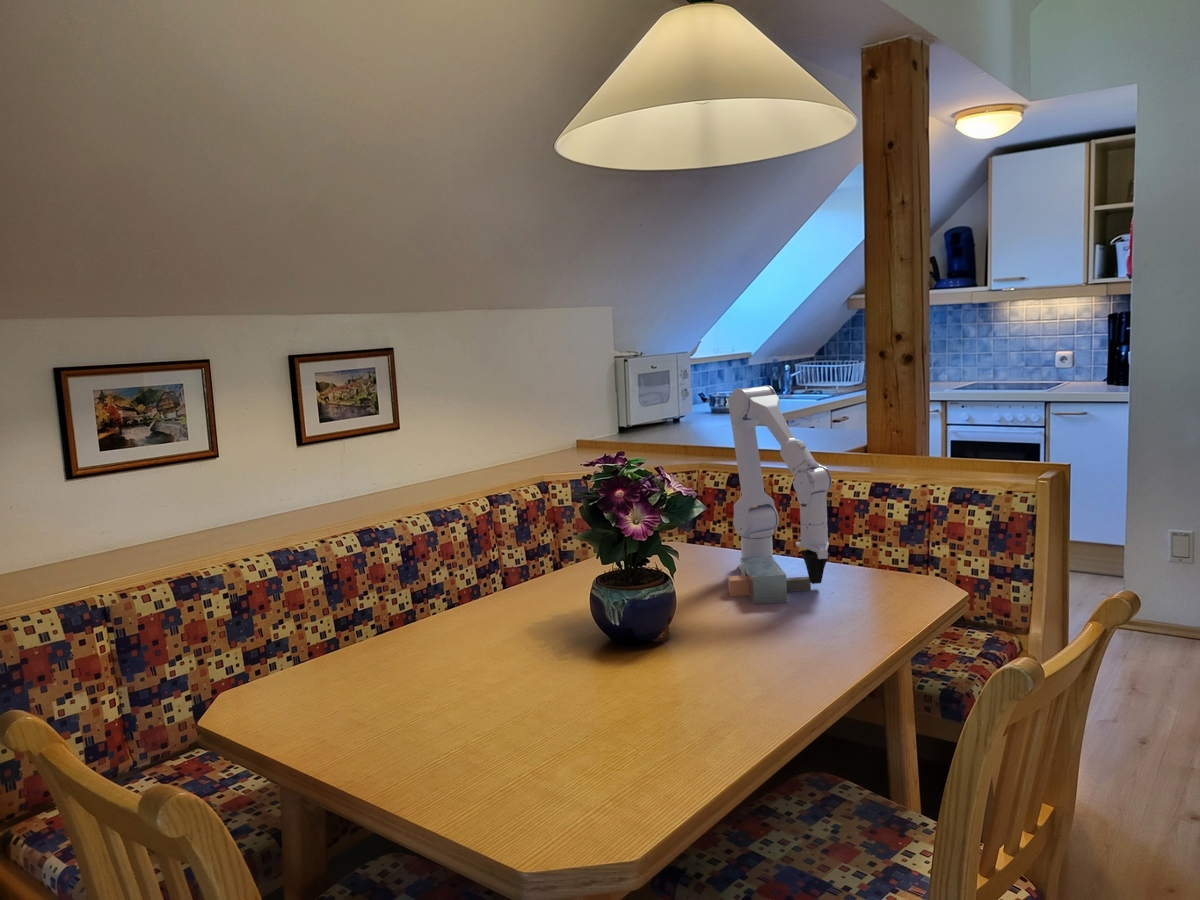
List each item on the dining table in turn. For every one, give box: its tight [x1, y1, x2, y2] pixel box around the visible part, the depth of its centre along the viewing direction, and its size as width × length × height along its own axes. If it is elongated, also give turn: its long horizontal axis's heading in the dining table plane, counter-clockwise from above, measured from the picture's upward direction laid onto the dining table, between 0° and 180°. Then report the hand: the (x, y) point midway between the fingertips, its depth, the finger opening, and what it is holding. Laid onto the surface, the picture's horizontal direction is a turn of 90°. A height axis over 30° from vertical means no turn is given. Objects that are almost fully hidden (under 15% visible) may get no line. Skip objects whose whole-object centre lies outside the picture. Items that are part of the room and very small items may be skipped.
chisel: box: [727, 574, 812, 597], centre depth 204 cm, size 4×18×4 cm, turn 90°
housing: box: [739, 556, 788, 605], centre depth 203 cm, size 16×7×6 cm, turn 1°
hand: (815, 582), depth 203 cm, fingers closed, pressing on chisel
